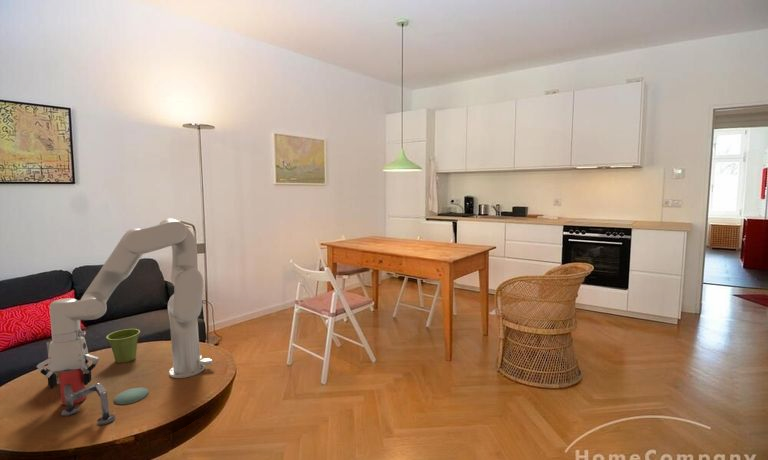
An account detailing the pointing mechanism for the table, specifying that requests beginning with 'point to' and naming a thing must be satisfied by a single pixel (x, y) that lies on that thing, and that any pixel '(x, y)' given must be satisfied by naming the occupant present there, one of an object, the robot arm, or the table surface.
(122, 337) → the plant pot
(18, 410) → the table surface
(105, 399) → the zigzag metal bar linkage
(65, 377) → the beer can
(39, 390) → the table surface
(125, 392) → the coaster
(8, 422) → the table surface
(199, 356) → the robot arm
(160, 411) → the table surface
